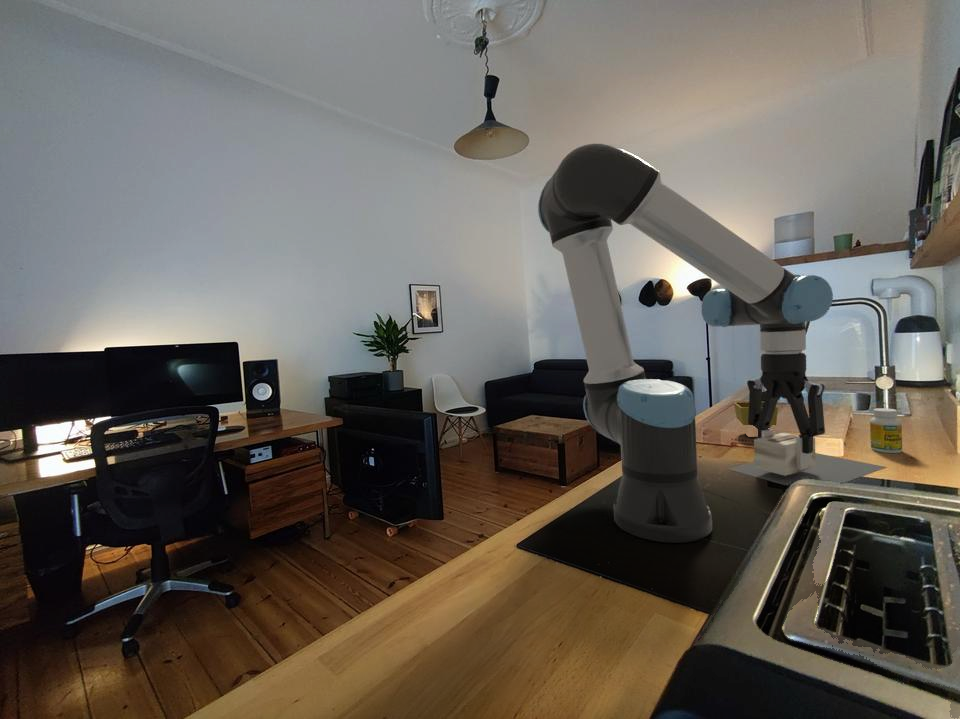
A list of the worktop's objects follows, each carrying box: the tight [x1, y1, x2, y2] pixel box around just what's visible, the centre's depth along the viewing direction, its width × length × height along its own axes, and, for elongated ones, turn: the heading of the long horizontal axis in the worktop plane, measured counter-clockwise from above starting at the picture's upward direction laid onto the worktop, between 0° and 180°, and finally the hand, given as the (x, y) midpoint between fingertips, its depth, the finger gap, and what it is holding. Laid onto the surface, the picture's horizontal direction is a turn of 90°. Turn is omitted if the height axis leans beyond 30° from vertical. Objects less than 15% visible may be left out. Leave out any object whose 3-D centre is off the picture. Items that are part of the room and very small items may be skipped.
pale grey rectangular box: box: [753, 432, 816, 476], centre depth 87 cm, size 10×6×6 cm, turn 114°
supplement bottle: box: [869, 407, 903, 454], centre depth 98 cm, size 5×5×10 cm
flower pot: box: [733, 401, 779, 426], centre depth 117 cm, size 9×9×9 cm
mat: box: [727, 452, 887, 487], centre depth 89 cm, size 25×17×1 cm
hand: (784, 463), depth 87 cm, fingers closed on pale grey rectangular box, 6 cm apart
